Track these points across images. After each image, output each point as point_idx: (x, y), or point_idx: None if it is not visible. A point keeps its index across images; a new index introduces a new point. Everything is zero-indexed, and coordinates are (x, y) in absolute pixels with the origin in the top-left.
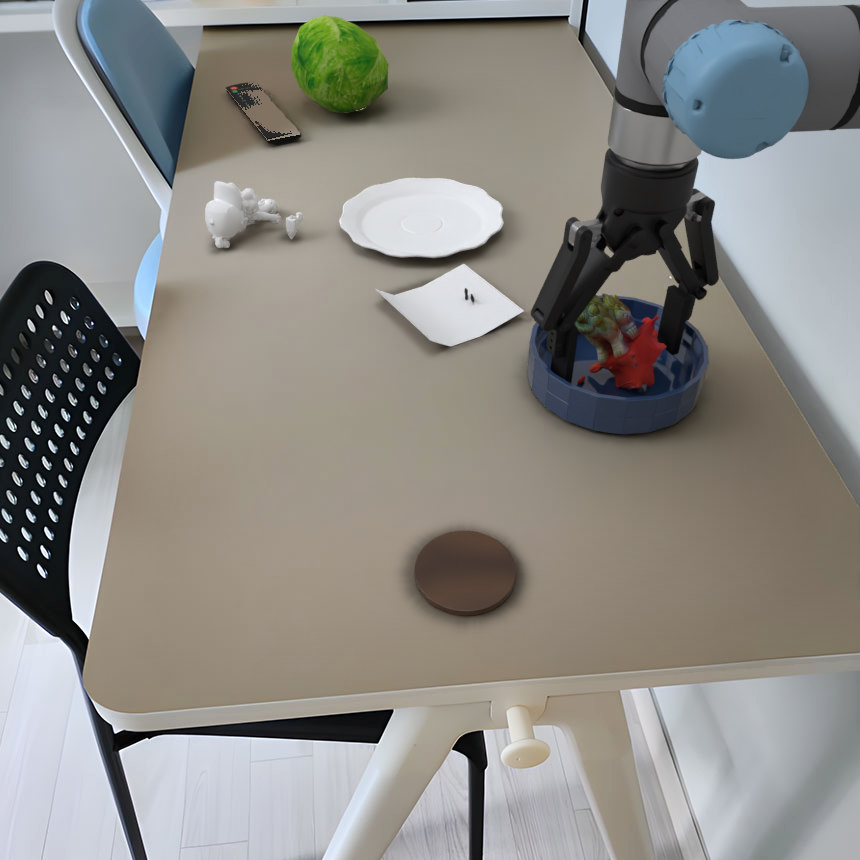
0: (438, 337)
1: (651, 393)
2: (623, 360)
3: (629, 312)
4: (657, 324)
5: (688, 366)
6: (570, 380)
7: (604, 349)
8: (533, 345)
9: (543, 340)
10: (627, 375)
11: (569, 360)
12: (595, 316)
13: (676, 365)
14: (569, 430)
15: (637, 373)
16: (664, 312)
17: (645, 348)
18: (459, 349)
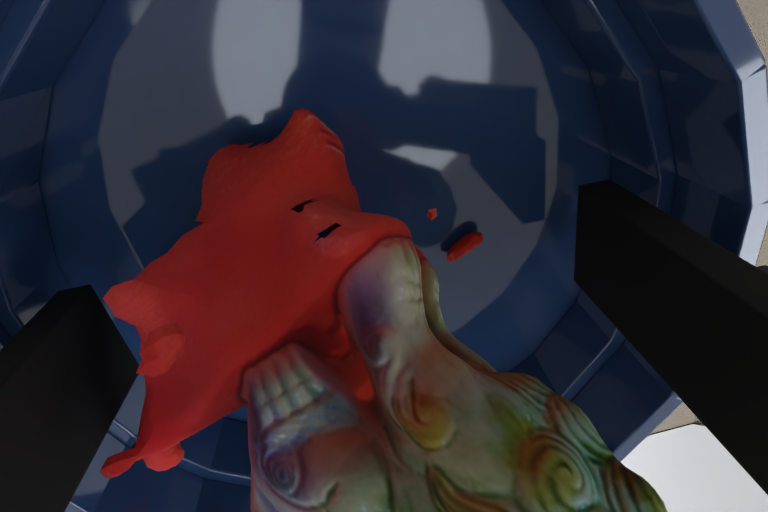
0: (707, 451)
1: (229, 129)
2: (387, 218)
3: (259, 505)
4: (116, 438)
5: (29, 231)
6: (600, 195)
7: (429, 317)
8: None
9: None
10: (344, 178)
11: (700, 244)
12: (575, 504)
13: (85, 262)
14: None
15: (296, 177)
16: (60, 493)
17: (226, 293)
18: (679, 413)
